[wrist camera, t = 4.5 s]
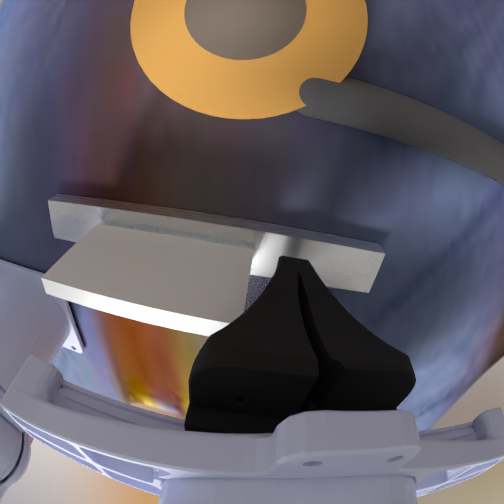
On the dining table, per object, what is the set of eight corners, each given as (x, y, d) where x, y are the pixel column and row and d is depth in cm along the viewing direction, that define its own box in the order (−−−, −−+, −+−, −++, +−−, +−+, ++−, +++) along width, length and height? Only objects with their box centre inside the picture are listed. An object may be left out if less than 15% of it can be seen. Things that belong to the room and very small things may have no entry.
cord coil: (138, 109, 12) (118, 112, 10) (167, -54, 7) (152, -69, 5) (338, 134, 11) (347, 140, 10) (364, -38, 7) (376, -53, 5)
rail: (63, 230, 15) (54, 237, 14) (57, 193, 14) (47, 200, 13) (364, 281, 15) (368, 292, 14) (379, 243, 14) (385, 253, 13)
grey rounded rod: (283, 111, 11) (283, 113, 10) (290, 67, 10) (292, 61, 8) (514, 189, 11) (534, 203, 9) (523, 158, 10) (545, 169, 8)
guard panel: (98, 237, 14) (46, 293, 10) (97, 223, 13) (41, 277, 9) (251, 264, 14) (238, 341, 10) (254, 249, 13) (241, 325, 9)
